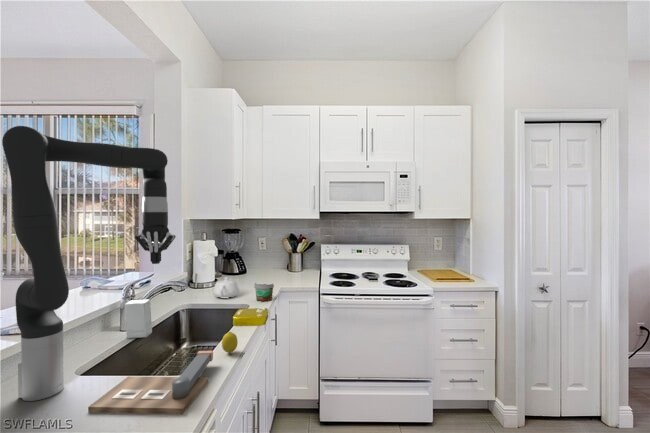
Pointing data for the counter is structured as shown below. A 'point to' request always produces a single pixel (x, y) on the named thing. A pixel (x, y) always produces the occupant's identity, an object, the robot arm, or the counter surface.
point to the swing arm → (191, 374)
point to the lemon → (229, 342)
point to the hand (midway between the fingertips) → (155, 263)
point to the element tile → (250, 317)
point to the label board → (146, 397)
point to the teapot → (226, 288)
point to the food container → (263, 292)
